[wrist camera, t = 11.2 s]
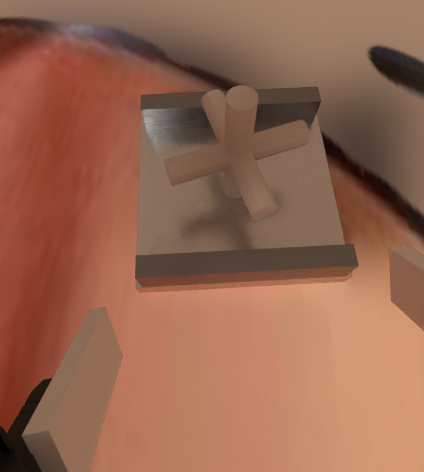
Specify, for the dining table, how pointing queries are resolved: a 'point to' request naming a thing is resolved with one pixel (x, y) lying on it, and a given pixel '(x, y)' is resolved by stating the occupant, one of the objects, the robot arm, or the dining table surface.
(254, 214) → the pipe connector
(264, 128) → the cradle plate
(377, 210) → the dining table surface
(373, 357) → the dining table surface
